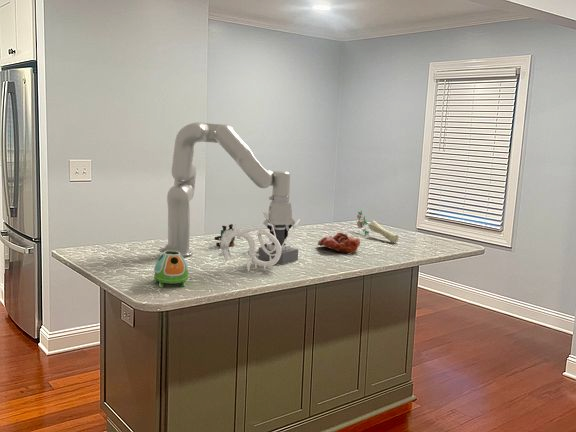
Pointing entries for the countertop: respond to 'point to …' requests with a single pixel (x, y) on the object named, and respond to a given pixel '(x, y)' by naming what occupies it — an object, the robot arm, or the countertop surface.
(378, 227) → the flower vase
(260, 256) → the low charcoal box
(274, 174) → the robot arm
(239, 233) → the serpentine dragon sculpture
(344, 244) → the meat
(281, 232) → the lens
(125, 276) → the countertop surface
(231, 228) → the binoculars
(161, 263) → the turtle holder
